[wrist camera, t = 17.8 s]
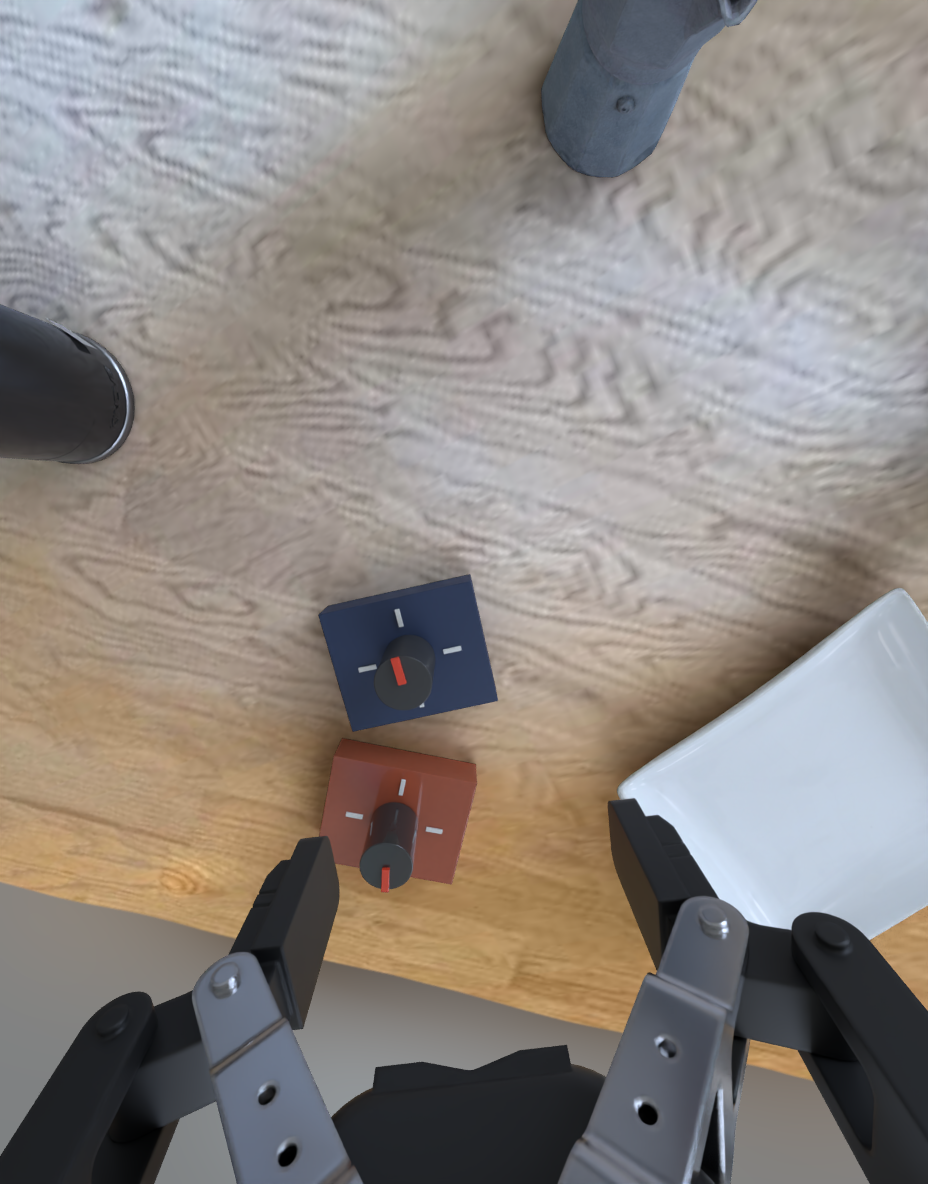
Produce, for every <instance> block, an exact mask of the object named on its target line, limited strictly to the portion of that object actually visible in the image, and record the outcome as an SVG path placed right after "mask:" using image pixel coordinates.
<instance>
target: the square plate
mask: <svg viewBox="0 0 928 1184" xmlns="http://www.w3.org/2000/svg"><path fill="white" fill-rule="evenodd" d="M617 793H618V796H619V798H620V799H621V800H622V799H630V798H635V799H636V800H637V802H638V803H639V805H640V807H641V809H642V811H643V812H644V814H645V816H652V815H659V816H661V817H662V818H663V819H665V820H666V821H667V822H669V823H670V824H671V825H673V826H674V828H675V829H676V831H677V832H678V834H679V835H680V837H681V839H682V840H683V843H685V845H686V847H687V848H688V850H689V851H690V854H691V855H692V856H693V858H694V859H695V861H696V862H697V864H698V866H699V867H700V869H701V870H702V872H703V874H704V875H705V877H706V878H707V880H708V881H709V883H710V885H711V886H712V888H713V889H714V891H715V893H716V894H717V896H718V897H719V899H721V900H723V901H725V902H727V903H729V904H731V905H732V906H734V907H735V908H736V909H737V910H738V911H739V912H740V913H741V914H742V915H743V916H744V918H745V919H746V920H747V921H750V922H752V923H756V924H759V925H764V926H770V927H776V928H783V929H789V930H791V927H792V923H793V921H794V919H795V918H796V917H797V916H799V915H800V914H803V913H807V912H821V913H826V914H830V915H833V916H836V917H839V918H841V919H843V920H845V921H847V922H849V923H850V924H852V925H853V926H855V927H856V928H857V929H859V930H860V931H861V932H862V933H863V934H864V935H865V936H866V937H867V938H868V939H869V940H870V939H872V938H874V937H875V936H877V935H879V934H881V933H882V932H884V931H886V930H887V929H889V928H891V927H892V926H894V925H896V924H897V923H899V922H901V921H902V920H904V919H906V918H907V917H909V916H911V915H912V914H914V913H916V912H917V911H919V910H921V909H922V908H924V907H926V906H927V905H928V622H927V621H926V619H925V618H924V616H923V615H922V613H921V611H920V610H919V608H918V607H917V606H916V604H915V603H914V601H913V600H912V599H911V597H910V596H909V594H908V593H907V592H906V591H905V590H904V589H902V588H897V589H893V590H891V591H889V592H888V593H886V594H884V595H883V596H881V597H880V598H878V599H877V600H876V601H874V602H873V603H871V604H870V605H869V606H867V607H866V608H864V609H863V610H862V611H861V612H860V613H858V614H857V615H856V616H854V617H853V618H852V619H850V620H849V621H848V622H846V623H845V624H843V625H842V626H841V627H839V628H838V629H837V630H835V631H834V632H833V633H832V634H830V635H829V636H827V637H826V638H825V639H823V640H822V641H821V642H820V643H818V644H817V645H816V646H814V647H813V648H812V649H811V650H809V651H808V652H807V653H806V654H804V655H803V656H802V657H800V658H799V659H798V660H796V661H795V662H794V663H792V664H791V665H790V666H788V667H787V668H786V669H784V670H783V671H782V672H780V673H779V674H778V675H776V676H775V677H774V678H772V679H771V680H770V681H768V682H767V683H765V684H764V685H763V686H761V687H760V688H758V689H757V690H756V691H754V692H753V693H752V694H750V695H749V696H747V697H746V698H745V699H743V700H742V701H740V702H739V703H737V704H736V705H735V706H733V707H732V708H730V709H729V710H727V711H726V712H725V713H723V714H722V715H720V716H719V717H717V718H716V719H714V720H713V721H711V722H710V723H708V724H707V725H705V726H703V727H702V728H700V729H699V730H697V731H696V732H694V733H693V734H691V735H690V736H688V737H686V738H685V739H683V740H682V741H680V742H679V743H677V744H676V745H674V746H673V747H671V748H669V749H668V750H666V751H665V752H663V753H661V754H660V755H658V756H657V757H656V758H654V759H653V760H651V761H650V762H648V763H647V764H646V765H644V766H643V767H642V768H640V769H639V770H637V771H636V772H634V773H633V774H632V775H630V776H629V777H628V778H627V779H625V780H624V781H623V782H622V783H621V784H620V785H619V786H618V789H617Z"/></svg>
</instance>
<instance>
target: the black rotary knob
mask: <svg viewBox="0 0 928 1184" xmlns="http://www.w3.org/2000/svg"><path fill="white" fill-rule="evenodd" d="M434 668H435V653H434V650H433V648H432V647H431V645H430V644H429V643H428V642H427V641H426V640H424V639H423V638H421V637H419V636H415V635H403V636H400V637H398V638H396V639H394V640H393V641H392V642H391V643H390V644H389V645H388V647H387V648H386V650H385V653H384V655H383V657H382V659H381V662H380V664H379V666H378V669H377V671H376V673H375V676H374V688H375V692H376V694H377V696H378V697H379V699H380V700H381V701H382V702H383V703H384V704H385V705H387V706H389V707H391V708H393V709H396V710H411V709H414V708H416V707H418V706H420V705H422V704H423V703H424V702H425V701H426V700H427V698H428V697H429V695H430V693H431V689H432V683H433V676H434Z"/></svg>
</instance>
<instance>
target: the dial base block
mask: <svg viewBox="0 0 928 1184" xmlns="http://www.w3.org/2000/svg"><path fill="white" fill-rule="evenodd" d="M476 786H477V775H476V764H472V763H467V762H462V761H457V760H452V759H447V758H441V757H436V756H431V755H426V754H421V753H416V752H410V751H405V750H400V749H395V748H390V747H385V746H380V745H374V744H369V743H364V742H359V741H354V740H349V739H343V738H342V739H341V741H340V743H339V746H338V748H337V750H336V752H335V754H334V757H333V762H332V768H331V773H330V779H329V784H328V790H327V795H326V800H325V806H324V811H323V817H322V822H321V828H320V833H319V837H320V836H328V838H329V840H330V843H331V848H332V852H333V857H334V862H335V864H341V865H346V866H352V867H357V868H360V867H359V864H360V858H361V855H362V851H363V847H364V843H365V839H366V836H367V832H368V828H369V824H370V820H371V817H372V814H373V813H374V811H375V810H376V809H377V808H378V807H380V806H381V805H383V804H385V803H389V802H399V803H403V804H405V805H407V806H409V807H410V808H411V809H412V810H413V811H414V812H415V814H416V816H417V818H418V831H417V839H416V848H415V856H414V865H413V871H412V874H411V876H410V877H413V878H419V879H424V880H430V881H435V882H441V883H446V884H452V882H453V878H454V874H455V870H456V866H457V862H458V858H459V854H460V850H461V846H462V842H463V838H464V834H465V830H466V826H467V822H468V818H469V814H470V810H471V806H472V802H473V798H474V794H475V790H476Z"/></svg>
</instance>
